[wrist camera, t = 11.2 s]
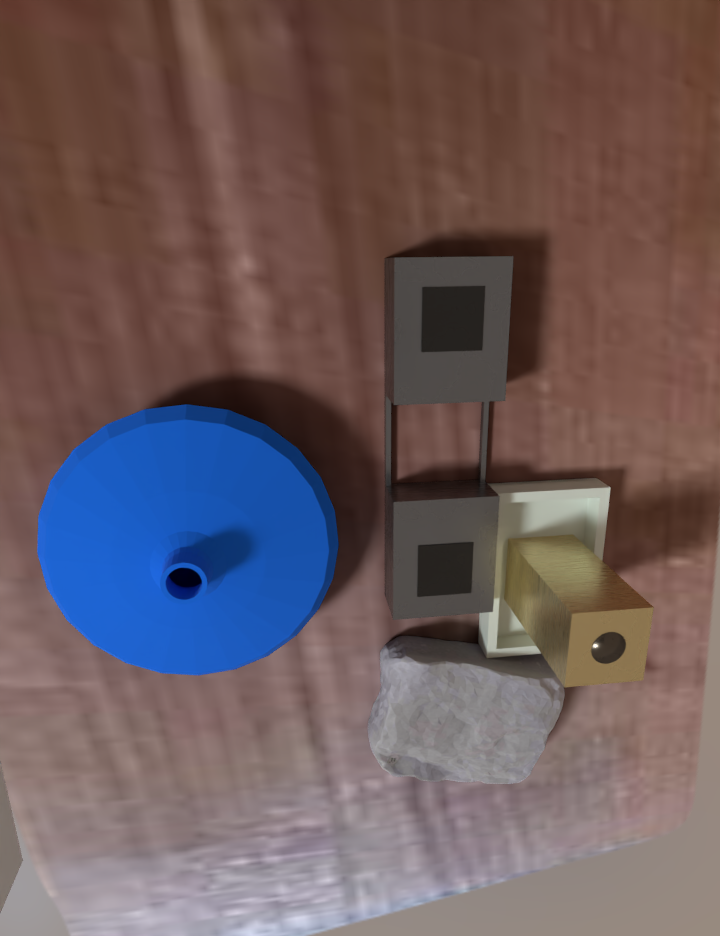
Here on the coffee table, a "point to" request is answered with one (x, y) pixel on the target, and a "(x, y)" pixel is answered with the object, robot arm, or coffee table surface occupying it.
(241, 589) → the blue funnel disc
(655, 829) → the coffee table surface
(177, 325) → the coffee table surface
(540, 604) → the wooden drawer with knob
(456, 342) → the rack rail
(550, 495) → the parts tray
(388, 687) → the stone block
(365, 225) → the coffee table surface
